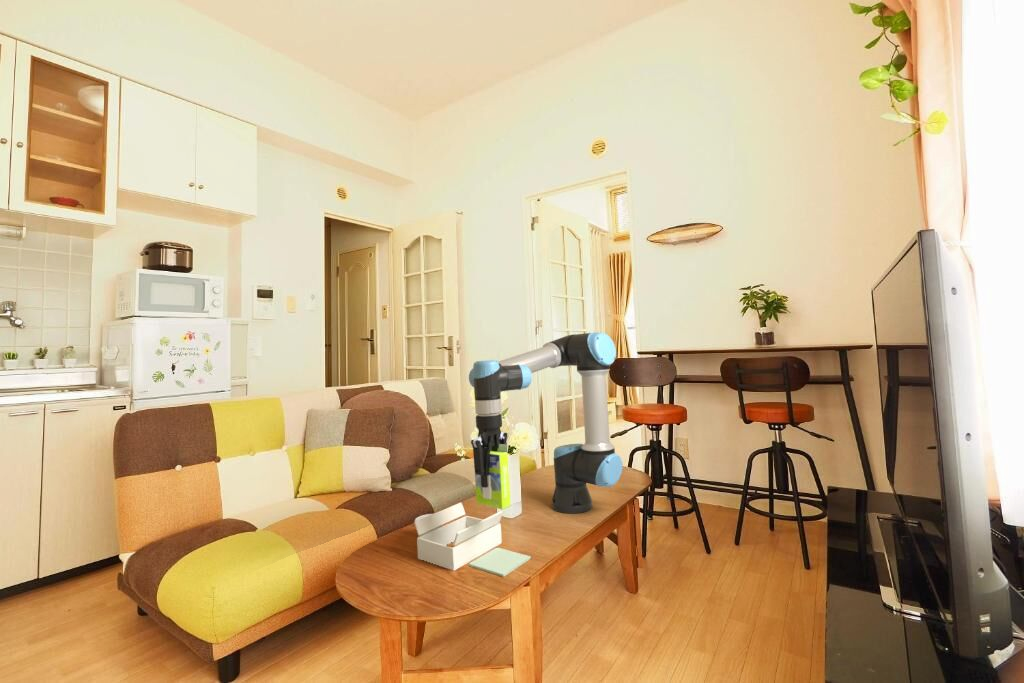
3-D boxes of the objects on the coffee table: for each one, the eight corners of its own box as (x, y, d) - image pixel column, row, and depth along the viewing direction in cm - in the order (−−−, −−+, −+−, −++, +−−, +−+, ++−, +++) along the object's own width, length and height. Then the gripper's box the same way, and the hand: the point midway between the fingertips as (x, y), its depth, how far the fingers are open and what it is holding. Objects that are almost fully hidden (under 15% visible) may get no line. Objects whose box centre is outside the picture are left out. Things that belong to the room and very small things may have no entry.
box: (475, 503, 134) (472, 444, 135) (485, 499, 137) (482, 441, 138) (502, 510, 127) (499, 447, 128) (512, 506, 130) (508, 444, 131)
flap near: (498, 521, 144) (501, 510, 143) (499, 522, 144) (503, 511, 143) (453, 544, 128) (456, 532, 127) (454, 545, 128) (458, 533, 127)
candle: (414, 535, 154) (413, 516, 155) (441, 530, 157) (440, 512, 157) (417, 545, 146) (416, 525, 146) (445, 540, 149) (444, 520, 149)
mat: (496, 549, 140) (496, 547, 140) (530, 558, 132) (530, 556, 132) (468, 565, 130) (468, 563, 130) (503, 576, 122) (503, 574, 122)
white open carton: (466, 533, 153) (465, 515, 153) (501, 543, 144) (500, 523, 144) (417, 558, 136) (416, 538, 136) (453, 570, 127) (452, 548, 128)
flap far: (464, 514, 153) (460, 502, 154) (465, 514, 153) (461, 502, 154) (418, 535, 137) (413, 522, 138) (419, 535, 137) (414, 521, 138)
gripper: (497, 409, 142) (502, 486, 141) (458, 417, 128) (462, 502, 128) (517, 410, 137) (521, 489, 137) (477, 419, 124) (482, 506, 123)
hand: (493, 495), depth 132 cm, fingers closed on box, 4 cm apart
